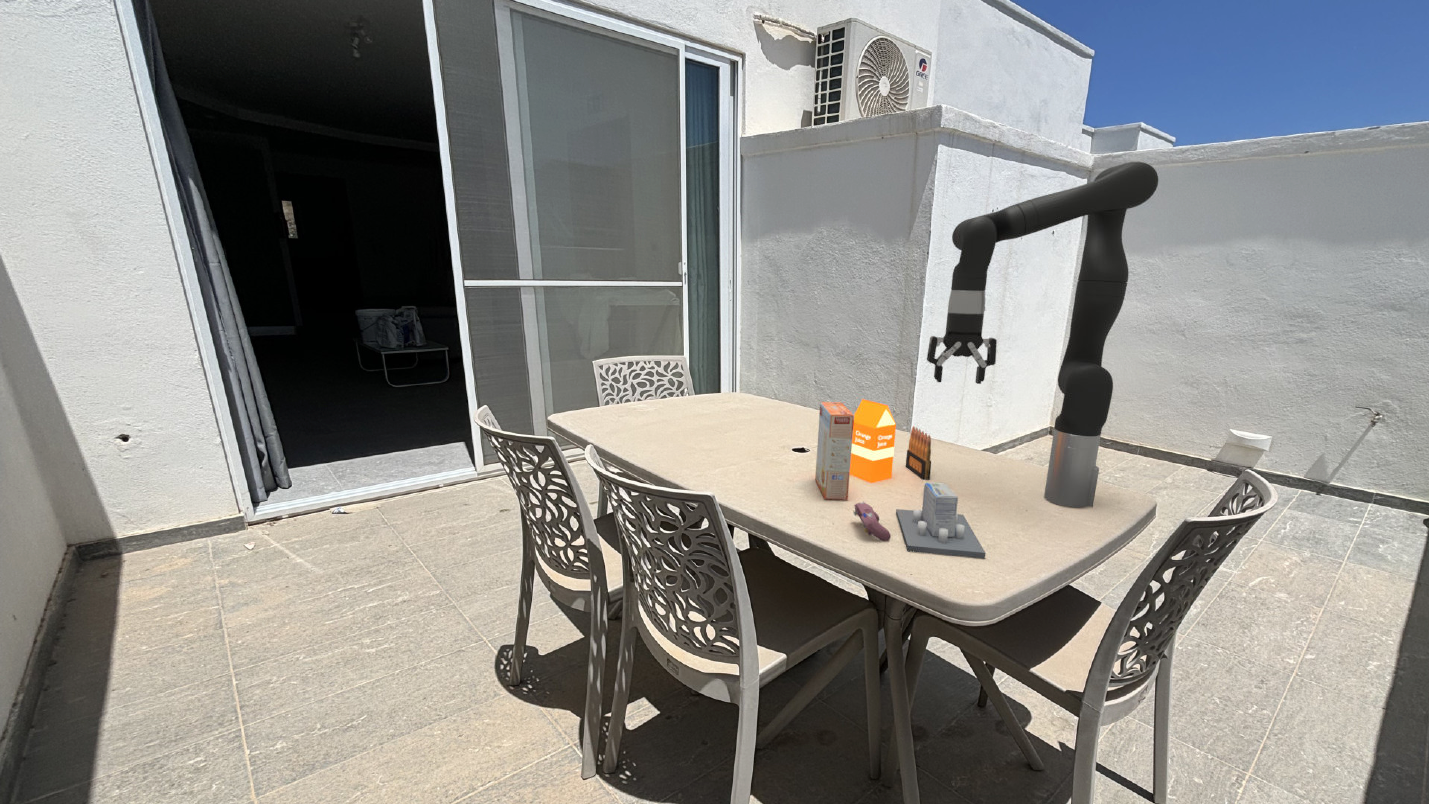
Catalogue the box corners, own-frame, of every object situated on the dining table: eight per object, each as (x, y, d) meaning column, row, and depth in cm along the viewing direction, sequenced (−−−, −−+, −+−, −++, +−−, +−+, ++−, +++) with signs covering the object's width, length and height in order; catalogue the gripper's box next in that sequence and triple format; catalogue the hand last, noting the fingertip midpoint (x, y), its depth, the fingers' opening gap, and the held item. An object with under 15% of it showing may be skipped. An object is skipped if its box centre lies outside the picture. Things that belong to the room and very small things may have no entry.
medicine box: (954, 538, 113) (959, 496, 111) (931, 537, 113) (935, 495, 111) (941, 521, 121) (946, 482, 119) (920, 520, 121) (924, 481, 119)
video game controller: (860, 528, 123) (847, 500, 122) (879, 519, 123) (867, 491, 122) (872, 549, 114) (858, 519, 113) (893, 540, 113) (880, 510, 112)
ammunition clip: (905, 466, 159) (908, 425, 157) (911, 466, 160) (915, 425, 157) (923, 480, 149) (927, 435, 146) (930, 480, 149) (934, 435, 147)
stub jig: (962, 519, 125) (964, 504, 124) (984, 558, 107) (987, 541, 107) (895, 514, 127) (897, 498, 126) (907, 551, 110) (908, 533, 109)
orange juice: (871, 483, 146) (877, 407, 142) (846, 473, 153) (851, 400, 149) (892, 478, 150) (898, 403, 146) (866, 468, 158) (872, 397, 153)
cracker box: (849, 501, 134) (855, 414, 130) (823, 500, 134) (828, 413, 130) (837, 480, 148) (843, 401, 143) (814, 479, 148) (819, 400, 144)
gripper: (995, 311, 130) (986, 381, 134) (929, 309, 133) (922, 378, 136) (1005, 313, 123) (996, 387, 126) (935, 311, 125) (928, 384, 129)
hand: (958, 382), depth 131 cm, fingers open, 8 cm apart
